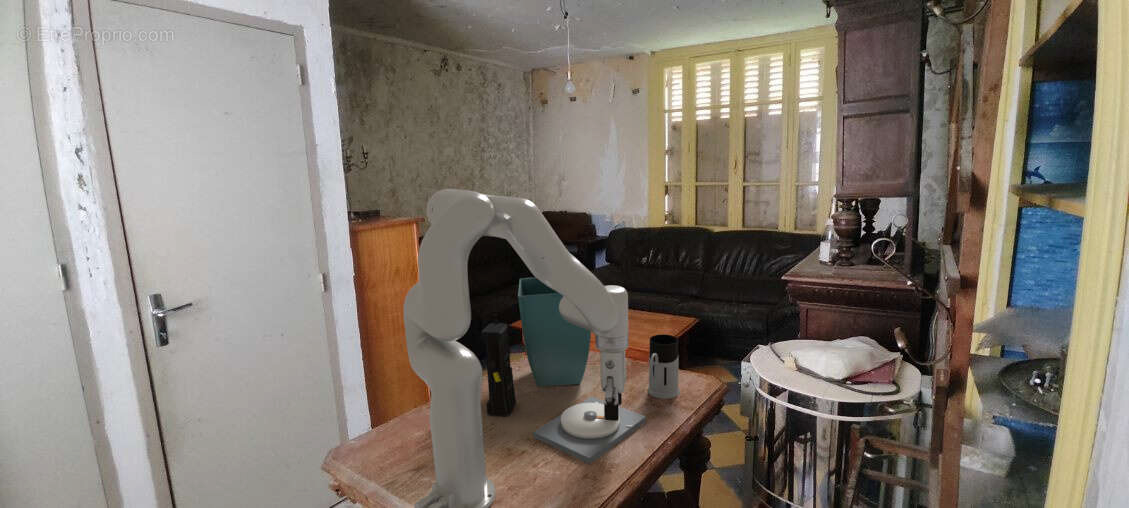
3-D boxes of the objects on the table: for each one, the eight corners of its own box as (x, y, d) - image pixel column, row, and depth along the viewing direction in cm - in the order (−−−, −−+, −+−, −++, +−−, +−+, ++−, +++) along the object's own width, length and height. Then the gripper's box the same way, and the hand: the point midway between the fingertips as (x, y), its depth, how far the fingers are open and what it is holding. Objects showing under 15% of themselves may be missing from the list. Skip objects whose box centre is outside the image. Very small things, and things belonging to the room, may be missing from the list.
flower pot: (524, 364, 164) (519, 277, 158) (587, 360, 165) (585, 273, 159) (523, 394, 144) (517, 295, 139) (595, 389, 145) (592, 291, 140)
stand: (590, 464, 112) (590, 457, 111) (533, 437, 123) (532, 430, 122) (647, 422, 128) (647, 415, 127) (591, 401, 139) (591, 395, 138)
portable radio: (508, 419, 131) (502, 324, 126) (485, 417, 133) (478, 323, 128) (517, 404, 139) (511, 314, 134) (495, 402, 140) (489, 313, 135)
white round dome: (555, 436, 120) (554, 402, 118) (567, 406, 133) (566, 375, 131) (616, 441, 117) (616, 406, 115) (622, 410, 130) (622, 378, 128)
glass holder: (684, 387, 145) (684, 336, 142) (667, 410, 133) (667, 355, 130) (653, 381, 149) (653, 331, 146) (635, 403, 137) (634, 349, 134)
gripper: (625, 355, 110) (626, 432, 114) (631, 327, 127) (632, 395, 131) (589, 354, 112) (592, 430, 116) (600, 326, 129) (602, 393, 132)
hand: (613, 411), depth 123 cm, fingers open, 6 cm apart
